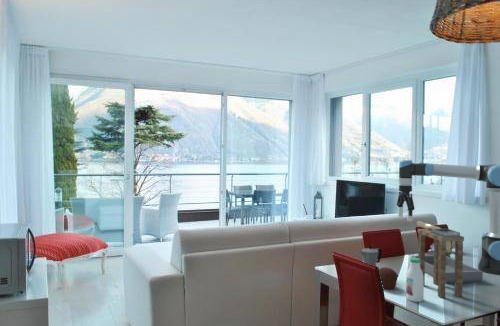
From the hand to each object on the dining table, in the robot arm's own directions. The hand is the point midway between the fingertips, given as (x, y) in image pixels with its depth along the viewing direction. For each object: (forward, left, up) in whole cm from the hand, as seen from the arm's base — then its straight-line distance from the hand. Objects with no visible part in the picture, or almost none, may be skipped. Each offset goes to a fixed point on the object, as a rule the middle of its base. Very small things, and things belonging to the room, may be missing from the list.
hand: (405, 219), depth 239 cm
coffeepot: (+23, +20, -31) cm, 43 cm away
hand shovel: (-6, +34, 0) cm, 34 cm away
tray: (-21, +8, -30) cm, 38 cm away
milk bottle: (+8, +54, -31) cm, 62 cm away
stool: (-8, +39, -30) cm, 50 cm away
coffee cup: (-40, -47, -31) cm, 69 cm away
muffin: (+18, +38, -31) cm, 52 cm away
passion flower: (-31, -34, -31) cm, 55 cm away
